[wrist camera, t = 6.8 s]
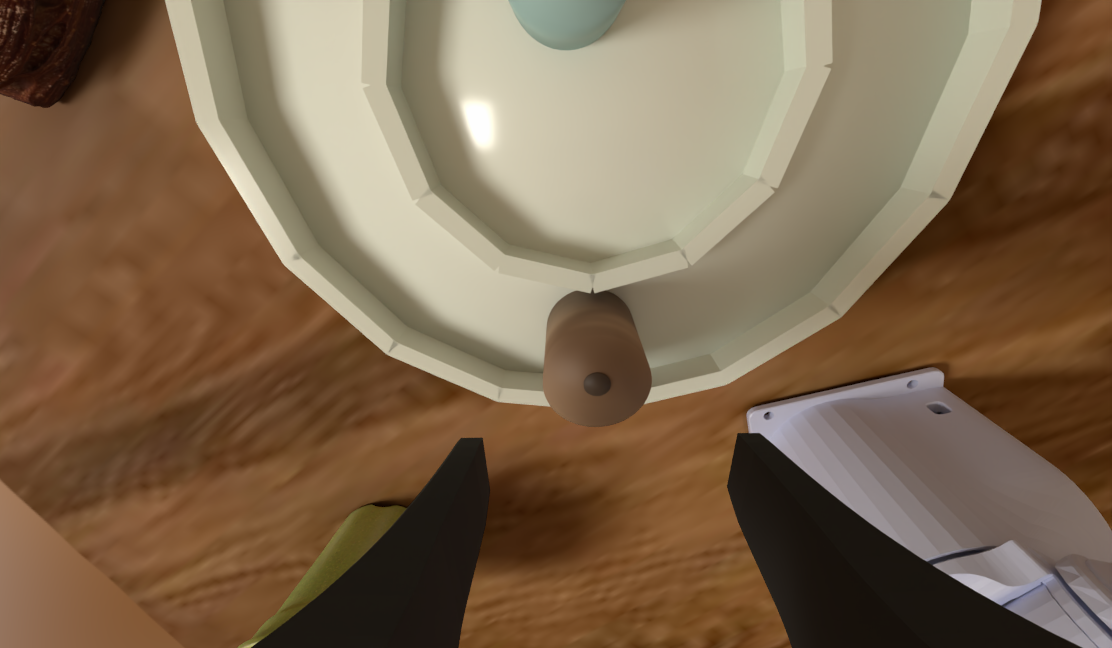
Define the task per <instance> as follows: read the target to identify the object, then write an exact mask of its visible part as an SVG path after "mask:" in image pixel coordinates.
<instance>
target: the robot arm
mask: <svg viewBox="0 0 1112 648" xmlns="http://www.w3.org/2000/svg"><path fill="white" fill-rule="evenodd" d="M910 381H911V382H910ZM909 382H910V383H909ZM943 384H944V373H943V372H942V371H940V370H939V369H937V368H934V367H931V368H925V369H921V370H917V371H912V372H908V373H903V374H899V375H894V376H890V377H885V378H881V379H876V380H872V381H867V382H863V383H858V384H854V385H849V386H845V387H841V388H836V389H832V390H827V391H823V392H818V393H814V394H809V395H805V396H800V397H796V398H791V399H787V400H782V401H778V402H774V403H769V404H765V405H760V406H756V407H753V408H751V409H750V410H749V411H748V412H747V422H748V429H749V433H738V434H737V439H736V444H735V449H734V454H733V459H732V465H731V470H730V475H729V480H728V485H727V488H728V491H729V494H730V498H731V501H732V504H733V508H734V511H735V514H736V517H737V520H738V523H739V525H740V527H741V530H742V532H743V534H744V536H745V539H746V541H747V543H748V545H749V548H750V550H751V552H752V554H753V556H754V559H755V561H756V563H757V565H758V567H759V569H760V572H761V574H762V576H763V578H764V580H765V583H766V585H767V587H768V589H769V591H770V594H771V596H772V598H773V600H774V602H775V605H776V607H777V609H778V612H779V614H780V616H781V619H782V621H783V624H784V626H785V629H786V632H787V635H788V637H789V640H790V643H791V646H792V648H1112V531H1111V529H1110V528H1109V526H1108V524H1107V523H1106V521H1105V520H1104V518H1103V517H1102V515H1101V514H1100V512H1099V511H1098V510H1097V508H1096V507H1095V506H1094V505H1093V503H1092V502H1091V501H1090V500H1089V498H1088V497H1087V496H1086V495H1085V494H1084V493H1083V492H1082V491H1081V490H1080V489H1079V487H1078V486H1077V485H1076V484H1075V483H1074V482H1073V481H1071V480H1070V479H1069V478H1068V477H1067V476H1066V475H1065V474H1064V473H1063V472H1061V471H1060V470H1059V469H1057V468H1056V467H1055V466H1054V465H1052V464H1051V463H1050V462H1048V461H1047V460H1045V459H1044V458H1043V457H1041V456H1040V455H1038V454H1037V453H1036V452H1034V451H1033V450H1031V449H1030V448H1029V447H1027V446H1026V445H1024V444H1023V443H1022V442H1020V441H1019V440H1017V439H1016V438H1015V437H1013V436H1012V435H1010V434H1009V433H1008V432H1006V431H1005V430H1003V429H1002V428H1001V427H999V426H998V425H996V424H995V423H994V422H992V421H991V420H989V419H988V418H987V417H985V416H984V415H982V414H981V413H980V412H978V411H977V410H975V409H974V408H973V407H971V406H970V405H968V404H967V403H966V402H964V401H963V400H961V399H960V398H959V397H957V396H956V395H954V394H953V393H952V392H950V391H949V390H947V389H946V388H945V387H943ZM767 412H770V413H769V414H767V415H764V414H765V413H767ZM489 494H490V486H489V479H488V472H487V466H486V459H485V452H484V445H483V438H461V439H460V440H459V441H458V442H457V444H456V445H455V446H454V448H453V449H452V451H451V452H450V454H449V455H448V456H447V458H446V459H445V461H444V462H443V463H442V465H441V466H440V467H439V469H438V470H437V471H436V473H435V474H434V476H433V477H432V478H431V479H430V481H429V482H428V483H427V484H426V486H425V487H424V488H423V490H422V491H421V492H420V493H419V495H418V496H417V497H416V498H415V500H414V501H413V502H412V503H411V504H410V505H409V507H408V508H407V509H406V510H405V511H404V512H403V514H402V515H401V516H400V517H399V518H398V519H397V520H396V522H395V523H394V524H393V525H392V526H391V527H390V528H389V529H388V530H387V531H386V533H385V534H384V535H383V536H382V537H381V538H380V539H379V540H378V541H377V542H376V543H375V544H374V545H373V546H372V547H371V548H370V549H369V550H368V551H367V552H366V553H365V554H364V555H363V556H362V557H361V558H360V559H359V560H358V561H357V562H356V563H354V564H353V565H352V566H351V567H350V568H349V569H348V570H347V571H346V572H345V573H344V574H343V575H341V576H340V577H339V578H338V579H337V580H336V581H335V582H334V583H333V584H331V585H330V586H329V587H328V588H327V589H326V590H324V591H323V592H322V593H321V594H320V595H319V596H317V597H316V598H315V599H314V600H312V601H311V602H310V603H309V604H307V605H306V606H305V607H304V608H302V609H301V610H300V611H299V612H297V613H296V614H295V615H294V616H292V617H291V618H290V619H289V620H287V621H286V622H285V623H284V624H282V625H281V626H280V627H278V628H277V629H276V630H274V631H273V632H272V633H270V634H269V635H268V636H266V637H265V638H263V639H262V640H261V641H259V642H258V643H256V644H255V645H253V646H252V647H251V648H458V646H459V640H460V634H461V627H462V622H463V617H464V613H465V608H466V604H467V600H468V595H469V591H470V587H471V583H472V579H473V575H474V571H475V567H476V563H477V559H478V555H479V550H480V546H481V542H482V538H483V534H484V529H485V525H486V518H487V510H488V502H489Z"/></svg>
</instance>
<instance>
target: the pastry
mask: <svg viewBox="0 0 1112 648" xmlns="http://www.w3.org/2000/svg"><path fill="white" fill-rule="evenodd" d="M104 2H105V0H0V94H2V95H5V96H8V97H11V98H13V99H15V100H18V101H21V102H24V103H27V104H30V105H32V106H41V107H43V108H48V107H50V106H52V105H53V104H55V103H56V102H57V101H58V100H60V98H61V97H62V96H63V94H64V92H65V90H66V89H67V88H68V87H69V86H70V85H71V83H72V82H73V80H74V79H75V77H76V74H77V70H78V68H79V65H80V62H81V60H82V58H83V56H84V54H85V53H86V51H87V50H88V48H89V46H90V44H91V39H92V35H93V33H94V30H95V27H96V25H97V23H98V20H99V18H100V14H101V10H102V6H103V4H104Z"/></svg>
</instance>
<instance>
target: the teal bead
mask: <svg viewBox="0 0 1112 648" xmlns="http://www.w3.org/2000/svg"><path fill="white" fill-rule="evenodd" d="M508 1H509V3H510V5H511V7H512V9H513V12H514V14H515V16H516V18H517V19H518V21H519V23H520V24H521V26H522V27H523V28H524V29H525V31H526V32H527V33H528V34H529V35H530V36H531V37H532V38H534V39H535V40H536V41H538V42H539V43H541V44H543V45H545V46H547V47H550V48H552V49H557V50H576V49H580V48H583V47H585V46H588V45H590V44H592V43H593V42H595V41H596V40H598V39H599V38H600V37H601V36H602V35H604V34H605V32H606V31H607V30H608V29H609V28H610V27H611V25H612V24H613V23H614V21H615V19H616V18H617V16H618V14H619V12H620V10H621V9H622V7H623V5H624V3H625V1H626V0H508Z"/></svg>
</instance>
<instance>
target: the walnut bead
mask: <svg viewBox="0 0 1112 648" xmlns="http://www.w3.org/2000/svg"><path fill="white" fill-rule="evenodd" d="M651 385H652V375H651V370H650V366H649V363H648V361H647V358H646V355H645V352H644V349H643V346H642V343H641V341H640V338H639V335H638V332H637V329H636V326H635V323H634V320H633V318H632V315H631V312H630V310H629V308H628V307H627V305H626V304H625V303H624V301H623V300H622V299H620V298H619V297H618V296H616V295H615V294H613V293H611V292H609V291H606V290H605V291H601V292H598V293H594V290H593V288H592V290H591V293H586V292H582V291H577V290H576V291H573V292H571V293H569V294H567V295H566V296H564V297H563V298H561V299H560V300H559V301H558V302H557V303H556V304H555V305H554V307H553V308H552V310H551V312H550V314H549V317H548V320H547V328H546V342H545V356H544V369H543V391H544V394H545V397H546V399H547V402H548V403H549V405H550V406H551V407H552V409H553V410H554V411H555V412H556V413H557V414H559V415H560V416H561V417H563V418H564V419H566V420H568V421H570V422H572V423H575V424H578V425H582V426H589V427H602V426H609V425H613V424H616V423H619V422H621V421H623V420H625V419H627V418H629V417H630V416H632V415H633V414H635V413H636V412H637V411H638V410H639V409H640V408H641V407H642V406H643V404H644V403H645V401H646V400H647V398H648V396H649V393H650V390H651Z"/></svg>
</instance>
